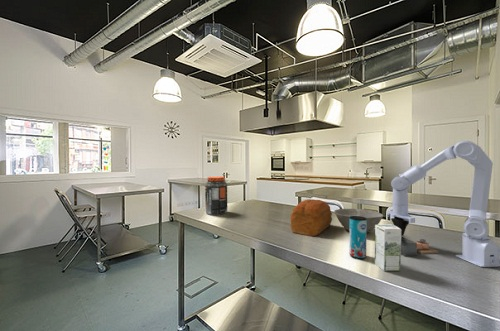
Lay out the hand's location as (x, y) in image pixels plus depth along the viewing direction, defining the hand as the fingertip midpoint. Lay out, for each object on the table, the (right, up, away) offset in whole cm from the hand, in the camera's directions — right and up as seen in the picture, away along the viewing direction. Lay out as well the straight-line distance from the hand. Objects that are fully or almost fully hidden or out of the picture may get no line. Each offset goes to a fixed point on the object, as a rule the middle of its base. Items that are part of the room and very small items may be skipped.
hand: (400, 235), depth 102 cm
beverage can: (-25, -5, -13) cm, 28 cm away
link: (0, -3, -7) cm, 7 cm away
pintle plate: (+5, -4, -7) cm, 9 cm away
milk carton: (-19, -5, -22) cm, 30 cm away
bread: (-32, -4, +25) cm, 41 cm away
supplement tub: (-90, -4, +65) cm, 111 cm away
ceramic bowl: (-10, -4, +19) cm, 22 cm away
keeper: (-4, -4, -9) cm, 11 cm away
